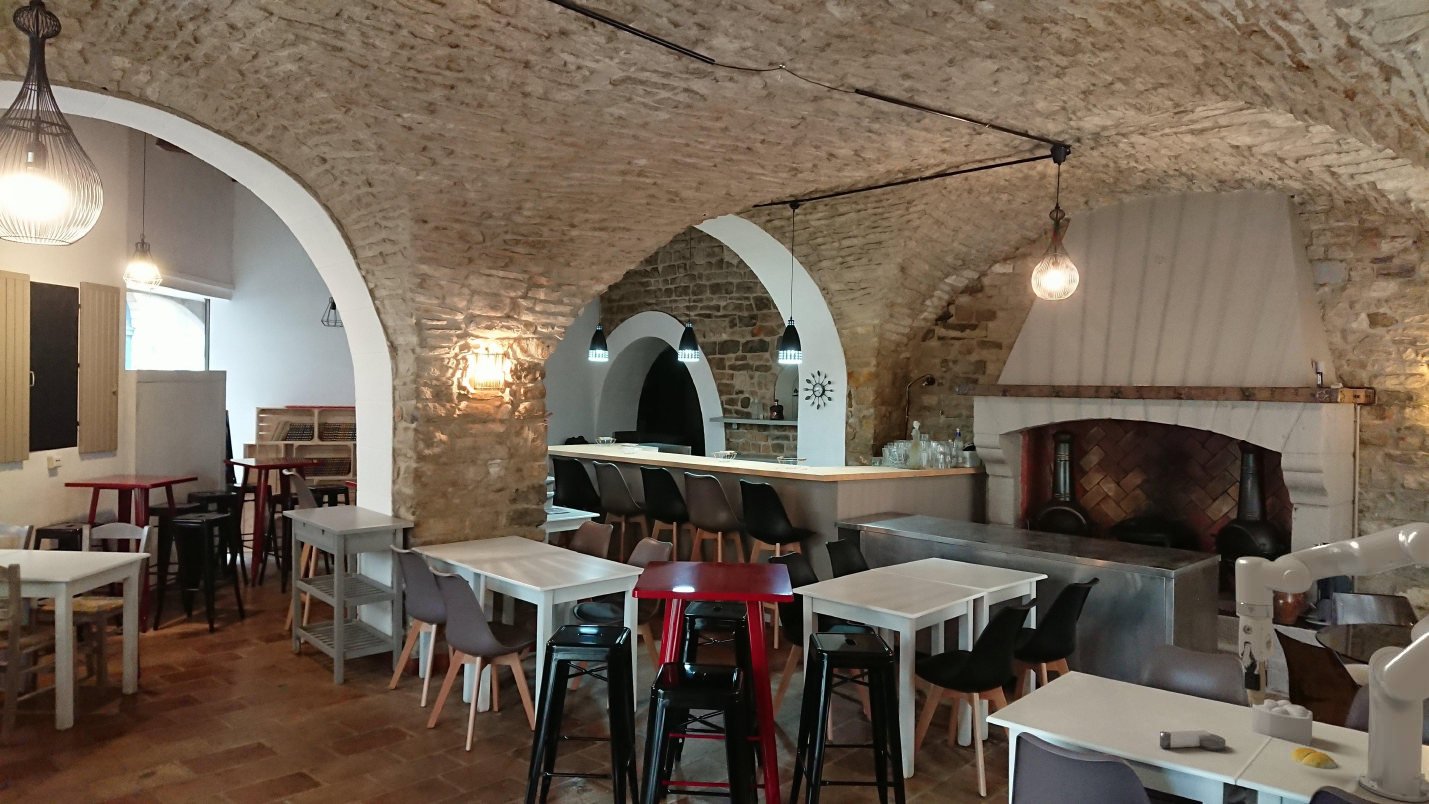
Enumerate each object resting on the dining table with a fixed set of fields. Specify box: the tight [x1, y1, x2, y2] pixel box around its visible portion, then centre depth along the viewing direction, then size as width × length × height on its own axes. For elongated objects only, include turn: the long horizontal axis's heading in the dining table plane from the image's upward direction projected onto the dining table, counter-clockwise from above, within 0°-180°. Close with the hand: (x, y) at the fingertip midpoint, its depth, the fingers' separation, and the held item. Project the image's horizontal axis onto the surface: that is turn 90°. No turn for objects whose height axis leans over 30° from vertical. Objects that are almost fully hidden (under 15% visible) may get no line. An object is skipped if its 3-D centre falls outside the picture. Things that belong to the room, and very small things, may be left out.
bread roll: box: [1290, 747, 1337, 769], centre depth 212 cm, size 8×9×4 cm
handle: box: [1246, 641, 1271, 705], centre depth 212 cm, size 5×6×15 cm
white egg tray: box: [1251, 698, 1313, 748], centre depth 231 cm, size 10×13×9 cm
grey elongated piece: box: [1159, 730, 1226, 753], centre depth 219 cm, size 17×7×4 cm, turn 100°
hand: (1256, 686), depth 212 cm, fingers closed on handle, 3 cm apart
